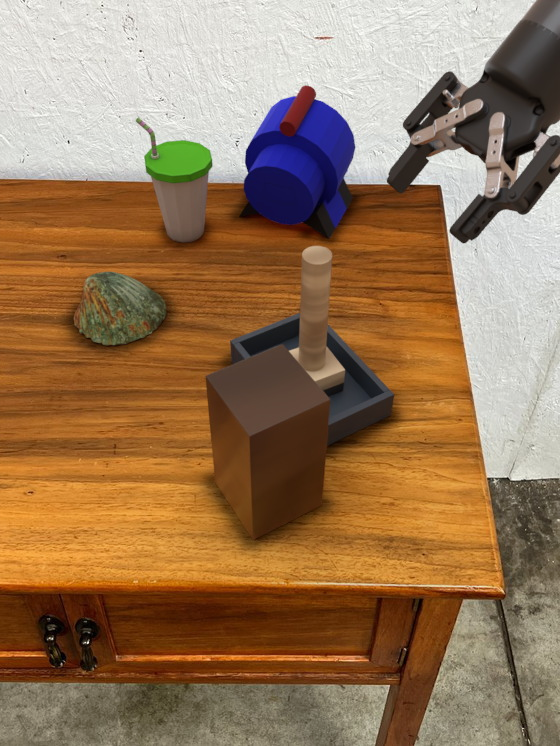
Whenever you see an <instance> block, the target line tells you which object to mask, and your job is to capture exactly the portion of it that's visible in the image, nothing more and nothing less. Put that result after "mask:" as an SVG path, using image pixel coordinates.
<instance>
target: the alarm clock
mask: <svg viewBox="0 0 560 746" xmlns="http://www.w3.org/2000/svg"><path fill="white" fill-rule="evenodd" d="M316 98H317V92H316V90H315V89H314V88H313V87H312V86H311V85H302V86H301V88H300V89H299V90H298V93H297V95H293V96H289V97H285V98H282V99H280V100H278V101H277V102H275V104H274V105H272V106H271V107H270V108H269V110H268V112H267V114H266V115H265V117H264V118H263V120H262V121H261V124H260V125H259V127H258V128H257V130H256V132H255V133H254V136H253V137H252V139H251V140H250V142H249V144H248V146H247V147H246V150H245V156H244V164H245V168H246V171H247V174H246V176H245V178H244V179H243V191H244V195H245V198H246V200H247V201H248V202H247V203H246V205H245V206H244V208H243V209H242V211H241V213H240V214H239V217H244V216H245V217H246V216H251V215H252V216H253V215H257V214H259V215H261V216H262V217H264V218H266V219H268V220H269V221H272V222H275V223H277V224H279V225H287V226H294V225H299V224H302V223H303V224H304V225H306V226H307V227H308V228H310V229H312V230H314V231H315V232H317V233H319V234H320V235H322V236H323V237H325V238H326V239H328V240H330V239H331V237H332V235H333V233H334V232H335V230H336V228H337V227H338V225H339V223H340V222H341V220H342V218H343V216H344V215H345V213H346V211H347V209H348V208H349V206H350V204H351V202H352V201H353V199H354V197H353V196H352V193H351V191H350V188H349V187H348V185H347V182H346V180H345V176H346V175H347V172H348V170H349V168H350V166H351V164H352V162H353V159H354V156H355V155H354V154H355V150H356V141H355V136H354V132H353V131H352V129H351V127H350V125H349V122H348V121H347V120H346V119H345V118H344V117H343V115H341V114H340V113H339V111H338V110H337V109H335V108H334V107H332V106H330V105H329V104H327V103H326V102H324V101H322V100H319V99H316Z"/></svg>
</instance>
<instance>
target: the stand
mask: <svg viewBox="0 0 560 746" xmlns="http://www.w3.org/2000/svg"><path fill="white" fill-rule="evenodd" d="M205 385H206V386H205V387H206V398H207V399H206V400H207V407H208V409H207V410H208V419H209V421H208V422H209V430H210V432H209V433H210V442H211V452H212V464H213V475H214V483H215V485H216V486H217V488H218V489H219V491H220V493H221V494H222V496H223V497H224V498H225V500H226V502H227V504H228V505H229V506H230V508H231V509H232V510H233V511H234V514H235V516H237V518H238V520H239V521H240V523H241V524H242V526H243V527H244V529H245V530H246V532H247V533H248V535H249V536H250V538H251V540H252V541H254V540H257V539H259V538H260V537H262V536H265V535H266V534H269V533H270V532H272V531H274V530H276V529H279V528H280V527H282V526H284V525H286V524H288V523H290V522H293V521H294V520H296V519H298V518H300V517H302V516H304V515H306V514H308V513H310V512H312V511H313V510H315V509H318V508H319V507H321V506H322V505H323V496H324V485H325V473H326V458H327V448H328V446H327V436H328V423H329V411H330V398H329V397H328V396H327V395H326V394H325V392H324V391H323V390H322V389H321V388H320V387H319V386H318V384H317V383H316V382H315V381H314V380H313V379H312V377H311V376H310V375H309V374H308V373H307V372H306V370H305V369H304V368H303V367H302V366H301V365H300V363H299V362H298V361H297V360H296V359H295V358H294V357H293V355H292V354H291V353H290V352H289V351H288V350H287V348H286V347H285V346H284V345H283V344H281V345H279V346H276V347H274V348H271V349H269V350H267V351H264V352H262V353H259V354H257V355H254V356H252V357H250V358H247V359H245V360H242V361H240V362H237V363H235V364H233V363H232V364H230V365H228V366H226V367H224V368H220V369H218V370H216V371H213V372H211V373H209V374H206V375H205Z"/></svg>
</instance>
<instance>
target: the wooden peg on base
mask: <svg viewBox="0 0 560 746" xmlns="http://www.w3.org/2000/svg"><path fill="white" fill-rule="evenodd" d="M332 268H333V252H332V251H331V250H330V249H329V248H328V247H326V246H321V245H312V246H308V247H307V248H305V249H304V250H303V251H302V253H301V272H300V273H301V274H300V298H299V299H300V305H299V313H300V329H299V347H298V348H296V349H293V350H290V351H289V352H290V353H291V354H292V355H293V357H294V358H295V359H296V360H297V361H298V362H299V363H300V365H301V366H302V367H303V368H304V369H305V370H306V372H307V373H308V374H309V375H310V376H311V377H312V379H313V380H314V381H315V382H316V383H317V384H318V386H319V387H320V388H321V389H322V390H323V391H324V392H325V394H326V395H327V396H331V395H333V394H336V393H338V392H341V391H343V388H344V377H345V369H344V368H343V366H342V365H341V364H340V363H339V361H338V360H337V359H336V358H335V356H334V355H333V354H332V352H331V351H330V350H329V349H328V347H327V346H326V342H327V328H328V325H329V313H330V298H331V283H332V271H333V270H332Z"/></svg>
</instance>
